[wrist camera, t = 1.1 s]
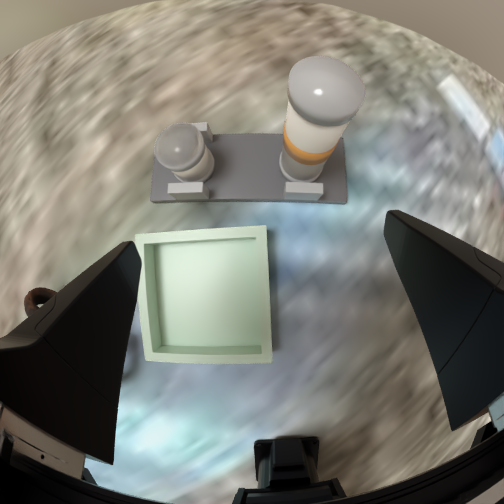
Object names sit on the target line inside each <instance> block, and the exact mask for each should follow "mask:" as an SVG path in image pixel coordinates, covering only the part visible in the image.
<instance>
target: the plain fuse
mask: <svg viewBox="0 0 504 504" xmlns="http://www.w3.org/2000/svg"><path fill="white" fill-rule="evenodd" d="M154 151H155V156H156V158H157V160H158V161H159V162H160V163H161V164H162V165H163V166H164V167H165V168H167V169H168V170H170V171H172V172H173V173H174V175H175V176H176V178H177V179H179V180H180V181H181V182H182V183H188V182H203V183H205V182H206V181H207V180H208V179H210V177H211V176H212V174H213V172H214V170H215V159H214V157H213V155H212V153H211V151H210V150H209V149H208V148H207V146H206V145H205V140H204V138H203V136H202V134H201V132H200V131H199V129H198V128H197V127H196V126H194V125H192V124H190V123H185V122H180V123H175V124H172V125H170V126H168V127H167V128H166V129H164V130H163V131H162V132H161V133H160V135H159V136H158V138H157V140H156V142H155V147H154Z"/></svg>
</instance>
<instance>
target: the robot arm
mask: <svg viewBox="0 0 504 504" xmlns="http://www.w3.org/2000/svg"><path fill="white" fill-rule="evenodd" d="M384 237H385V240H386V243H387V245H388V248H389V251H390V253H391V256H392V259H393V262H394V265H395V267H396V270H397V272H398V275H399V277H400V279H401V281H402V284H403V286H404V288H405V290H406V293H407V295H408V297H409V300H410V302H411V304H412V307H413V309H414V312H415V314H416V317H417V319H418V322H419V324H420V327H421V329H422V332H423V335H424V338H425V340H426V343H427V346H428V349H429V352H430V355H431V358H432V361H433V364H434V367H435V370H436V373H437V377H438V380H439V384H440V387H441V391H442V394H443V398H444V402H445V406H446V410H447V414H448V418H449V423H450V427H451V430H452V431H455V430H457V429H459V428H461V427H462V426H464V425H466V424H468V423H470V422H472V421H474V420H475V419H477V418H479V417H481V416H482V415H484V414H486V413H488V412H489V415H490V418H491V422H489V423H487V424H486V425H484V426H483V427H481V428H480V429H478V430H477V433H476V436H475V438H474V441H473V443H472V446H471V448H470V450H468V451H466V452H464V453H463V454H461V455H459V456H457V457H455V458H453V459H451V460H449V461H447V462H445V463H443V464H441V465H439V466H437V467H435V468H432V469H430V470H428V471H426V472H423V473H421V474H418V475H416V476H413V477H411V478H408V479H406V480H403V481H400V482H397V483H394V484H392V485H389V486H385V487H382V488H379V489H376V490H372V491H369V492H365V493H361V494H358V495H353V496H349V497H347V496H346V494H345V492H344V490H343V488H342V487H341V485H340V483H339V481H338V479H337V478H333V479H331V480H328V481H322V482H319V480H318V475H317V461H318V450H319V439H318V438H317V437H309V438H299V439H285V440H262V441H256V442H255V443H254V455H255V469H256V480H257V481H258V489H245V488H239V489H238V492H237V494H235V497H234V500H233V503H232V504H504V263H503V262H501V261H499V260H498V259H496V258H494V257H492V256H490V255H488V254H486V253H485V252H483V251H481V250H479V249H477V248H475V247H473V246H472V245H470V244H468V243H466V242H464V241H462V240H460V239H458V238H456V237H455V236H453V235H451V234H449V233H447V232H445V231H443V230H441V229H439V228H436V227H434V226H432V225H430V224H428V223H426V222H424V221H422V220H420V219H417V218H415V217H413V216H411V215H409V214H406V213H404V212H402V211H399V210H389V211H388V212H387V214H386V219H385V226H384ZM141 268H142V260H141V257H140V255H139V253H138V250H137V248H136V245H135V243H134V242H133V241H126V242H122V243H121V244H119V245H118V246H116V247H115V248H114V249H112V250H111V251H110V252H108V253H107V254H106V255H104V256H103V257H102V258H100V259H99V260H98V261H96V262H95V263H94V264H93V265H91V266H90V267H89V268H87V269H86V270H85V271H84V272H82V273H81V274H80V275H79V276H77V277H76V278H75V279H74V280H72V281H71V282H70V283H69V284H67V285H66V286H65V287H64V288H63V289H61V290H60V291H59V292H58V293H57V295H54V296H53V297H52V298H51V299H50V300H48V301H47V302H46V303H45V304H44V305H42V306H41V307H40V308H39V309H38V310H36V311H35V312H34V313H33V314H32V315H30V316H29V317H28V318H27V319H25V320H24V321H23V322H22V323H21V324H19V325H18V326H17V327H16V328H15V329H13V330H12V331H11V332H10V333H9V334H7V335H6V336H4V337H2V338H0V504H173V503H167V502H161V501H155V500H150V499H145V498H141V497H137V496H132V495H128V494H125V493H121V492H117V491H114V490H110V489H107V488H104V487H101V486H98V485H97V483H96V482H95V480H94V478H93V477H92V475H91V474H90V472H89V470H88V469H87V468H85V467H84V465H85V459H86V458H89V459H92V460H95V461H99V462H102V463H106V464H110V465H113V462H114V447H115V434H116V423H117V413H118V409H117V408H118V403H119V396H120V388H121V381H122V375H123V368H124V362H125V357H126V351H127V346H128V340H129V335H130V330H131V325H132V321H133V316H134V312H135V307H136V302H137V297H138V290H139V282H140V275H141ZM313 441H315V442H313ZM258 445H261V446H258Z"/></svg>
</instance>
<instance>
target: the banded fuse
mask: <svg viewBox="0 0 504 504" xmlns="http://www.w3.org/2000/svg"><path fill="white" fill-rule="evenodd" d="M365 94H366V92H365V86H364V83H363V81H362V79H361V77H360V76H359V74H358V73H357V72H356V71H355V70H354V69H353V68H351V67H350V66H349V65H347V64H346V63H344V62H342V61H340V60H337V59H334V58H331V57H326V56H312V57H308V58H304V59H302V60H300V61H299V62H297V63H296V64H295V65H294V66H293V68H292V69H291V71H290V74H289V83H288V99H289V101H288V108H287V116H286V121H285V126H284V134H283V147H282V152H281V154H280V160H279V169H280V172H281V174H282V176H283V177H284V178H285V179H286V180H287V181H288V182H307V183H313V182H314V181H315V180H316V179H317V178H318V177H319V175H320V173H321V172H322V169H323V166H324V164H325V162H326V161H327V159H328V158H329V157H330V155H331V154H332V152H333V150H334V149H335V147H336V145H337V144H338V142H339V139H340V137H341V135H342V133H343V132H344V130H345V128H346V126H347V125H348V123H349V121H350V120H352V119H353V118H354V116H355V115H356V113H357V112H358V110H359V108H360V107H361V105H362V103H363V101H364V99H365Z"/></svg>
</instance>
